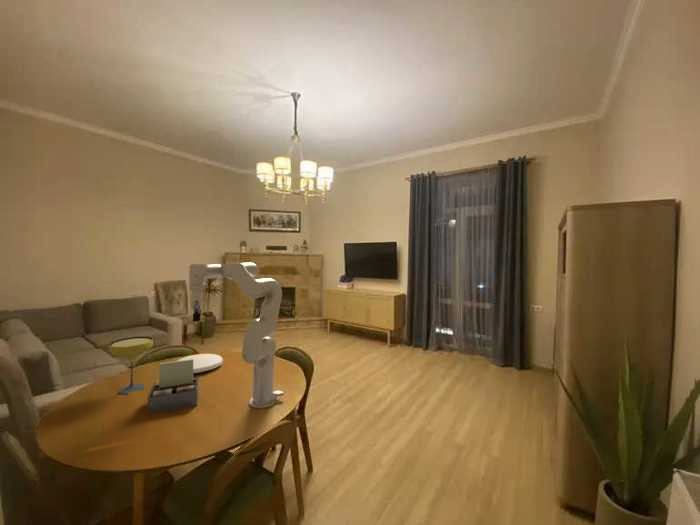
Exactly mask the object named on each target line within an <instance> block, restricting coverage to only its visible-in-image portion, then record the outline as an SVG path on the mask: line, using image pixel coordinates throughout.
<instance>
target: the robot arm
mask: <svg viewBox="0 0 700 525" xmlns="http://www.w3.org/2000/svg"><path fill="white" fill-rule="evenodd" d="M258 266H259V265H257V264H255V263H254V262H228V263H191V264H190V265H189V268H188V269H189V270H188V271H189V272H188V275H189V276H188V277H189V279H188V280H189V281H188V283H189V285H188V287H189V288H188V290H189V291H191V292H190V309H191V310H193V313H192V322H200V321H201V317H202V316H201V315H202V310H201V309H202V306H203V299H204V298H203V296H204V295H203V292H204V291H206V279H215V278H216V279H217V278H226V279H227V280H232V281H233V282H234V283H235V284H236V286H237V287H238V288H239V289H240V290H241V292H242V293H244V295H245V296H247V297H248V298H250V299H258V298H262V297H265V298H264V300H263V302H262V304H261V307H260V313H259V316H258V317H257V318H253V319H252V320H250V321H249V322H248V323H247V324H246V327H245V329H244V334H243V339H242V340H243V341H242V345H241V346H242V347H241V356H242V359H243V361H244V362H245V363H246V364H250V365H252V364H253V367H252V371H253V372H252V397H251V398H250V399H249V402H248V403H249V406H250V407H252V408H254V409H266V408H270V407H272V406H273V405H275V403H277V397H283V396H284V392H283V391H280V390H274V379H275V378H274V376H275V375H274V372H275V371H274V370H275V356H276V351H277V343H276V341H275V339H274V338H273V337H272V335H273V334H274V333H275V332H276V331H277V327H278V320H279V314H280V309H281V308H280V306H281V303H282V299H283V289H282V286H281V285H280V283H279V282H278V281H277V280H276V279H273V278H268V277H266V278H257V277H258V276H259V274H260V268H259V267H258ZM256 278H257V279H256Z"/></svg>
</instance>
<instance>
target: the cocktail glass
mask: <svg viewBox="0 0 700 525" xmlns="http://www.w3.org/2000/svg"><path fill="white" fill-rule="evenodd" d="M153 340H154V339H153V338H152V337H151V336H133V337H125V338H121V339H117V340H115V341H112V342H110V343H109V346H108V351H109V353H110V354H111V355H113V356H115V357H119V358H123V359H124V358H125V359H126V360H128V361H129V362H130V384H129V385H126V386H124V387H121V388H120V389H119V390H118V391H117V392H118V394H119V395H128V394H129V393H130V392H137V391H143V390H144V389H145V385H144V384H142V383H135V384H134V380H133V378H134V376H133V369H134V368H133V363H134V361H135V360H136V359H137V358H138V357H139V356H140V355H143V354H144V353H146V352H148V351H149V350H151V349H152V348H153V345H154V341H153Z"/></svg>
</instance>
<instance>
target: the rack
mask: <svg viewBox="0 0 700 525" xmlns="http://www.w3.org/2000/svg"><path fill="white" fill-rule="evenodd" d="M190 385H194V390H193V391H187V392H181V393H176V390H177V387H183V386H190ZM170 388H172V394H168V395H162V396H156V397H153V392H154V391H157V390H164V389H170ZM199 390H200V377H199V376H196V378H193V383H188V384H182V385H175V386H169V387H162V388H159V383H158V384H157V382H154V383H153V384H152V386H151V389H150V390H149V393H148V395H147V415H148V416H150V415H154V414H160V413H165V412H166V413H167V412H171V411H176V410H182V409H188V408H193V407H198V402H199V393H200V392H199Z"/></svg>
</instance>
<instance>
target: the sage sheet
mask: <svg viewBox="0 0 700 525" xmlns="http://www.w3.org/2000/svg"><path fill="white" fill-rule="evenodd" d="M158 367H159V368H158V380H159V381H158V384H159V388H162V387H169V386H175V385H182V384H188V383H193V379H194V373H193V359H189V360H181V361H178V360H175V361H174V360H173V361H166V362H159V364H158Z"/></svg>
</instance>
